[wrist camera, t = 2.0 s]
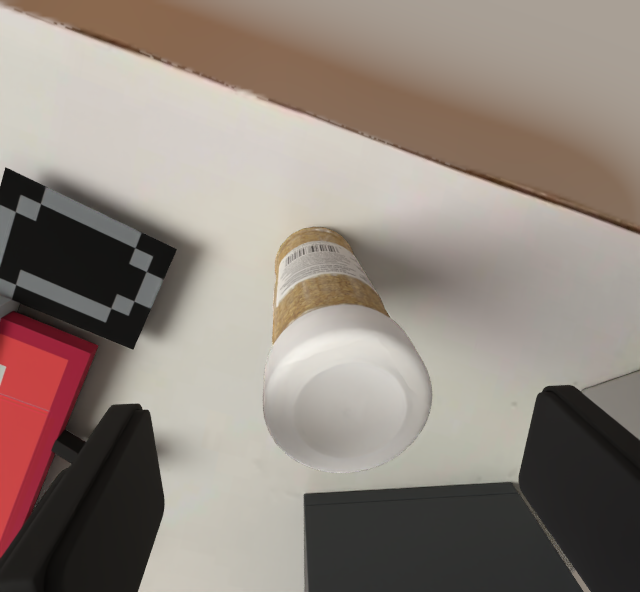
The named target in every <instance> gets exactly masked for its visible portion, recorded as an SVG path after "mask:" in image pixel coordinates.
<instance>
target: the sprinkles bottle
mask: <svg viewBox="0 0 640 592" xmlns="http://www.w3.org/2000/svg"><path fill="white" fill-rule="evenodd" d="M275 273H276V283H275V286H274V295H273V315H274V318H273V337H272V342H273V345H272V347H271V350H270V352H269V354H268V357H267V361H266V365H265V372H264V386H263V411H264V418H265V422H266V425H267V427H268V430H269V432H270V434H271V436H272V438H273V439H274V441H275V443H276V444H277V445H278V446H279V447H280V448H281V449H282V450H283V451H284V452H285V453H286V454H287V455H288V456H290V457H291V458H292V459H294V460H295V461H297V462H299V463H301V464H303V465H305V466H307V467H310V468H313V469H316V470H320V471H324V472H331V473H351V472H358V471H363V470H368V469H371V468H374V467H377V466H380V465H382V464H384V463H386V462H388V461H390V460H392V459H393V458H395V457H396V456H398V455H399V454H400V453H402V452H403V451H404V450H405V449H406V448H407V447H409V446H410V445H411V444H412V443H413V442H414V440H415V439H416V438H417V436H418V435H419V434H420V432H421V431H422V429H423V427H424V426H425V424H426V421H427V419H428V416H429V413H430V409H431V403H432V387H431V381H430V377H429V374H428V371H427V369H426V367H425V365H424V363H423V361H422V359H421V357H420V355H419V354H418V352H417V350H416V349H415V347H414V345H413V344H412V342H411V340H410V339H409V337H408V336H407V334H406V333H405V332H404V330H403V329H402V328H401V327H400V326H399V325H398V324H397V323H396V322H395V321H393V320H392V319H391V318H390V317H389V315H388V313H387V312H386V310H385V308H384V305H383V303H382V301H381V299H380V297H379V295H378V293H377V292H376V290H375V288H374V287H373V285H372V283H371V282H370V280H369V278H368V277H367V275H366V273H365V272H364V270H363V269H362V267H361V265H360V264H359V262H358V260H357V259H356V258H355V256H354V254H353V251H352V249H351V247H350V245H349V244H348V243H347V242H346V241H345V239H344V238H343V237H342V236H341V235H339V234H338V233H336V232H334V231H332V230H330V229H327V228H323V227H311V228H304V229H301V230H299V231H298V232H295V233H293V234H292V235H291V236H289V237H288V238H287V239H286V241H285V242H284V243H283V244H282V245H281V247H280V249H279V251H278V253H277V256H276V260H275Z"/></svg>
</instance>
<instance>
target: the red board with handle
mask: <svg viewBox="0 0 640 592" xmlns="http://www.w3.org/2000/svg"><path fill="white" fill-rule="evenodd" d="M176 250H177V249H175V248H173V247H171V246H169V245H167V244H165V243H163V242H161V241H159V240H156V239H154V238H152V237H150V236H148V235H146V234H144V233H142V232H140V231H138V230H135V229H133V228H131V227H129V226H127V225H125V224H123V223H121V222H119V221H117V220H115V219H112V218H110V217H108V216H106V215H104V214H102V213H100V212H98V211H96V210H94V209H92V208H89V207H87V206H85V205H83V204H81V203H79V202H77V201H75V200H73V199H71V198H69V197H66V196H64V195H62V194H60V193H58V192H56V191H54V190H52V189H50V188H48V187H45V186H43V185H41V184H39V183H37V182H35V181H33V180H31V179H29V178H27V177H25V176H22V175H20V174H18V173H16V172H14V171H12V170H10V169H8V168H6V167H5V171H4V175H3V178H2V182H1V186H0V558H1V557H2V555H3V554H4V552H5V551H6V550H7V548H8V547H9V545H10V544H11V542H12V541H13V539H14V538H15V537H16V535H17V534H18V532H19V531H20V529H21V528H22V526H23V525H24V524H25V522H26V521H27V519H28V518H29V516H30V515H31V513H32V510H33V508H34V505H35V503H36V500H37V498H38V495H39V493H40V490H41V488H42V485H43V483H44V480H45V478H46V475H47V473H48V470H49V468H50V465H51V463H52V460H53V458H54V455H55V454H57V455H58V456H60V457H62V458H63V459H65V460H66V461H68V462H70V463H71V464H72V462H73V461H74V459H75V458H76V456H77V455H78V453H79V452H80V450H81V449H82V448H83V446H84V445H85V443H86V442H85V441H83V440H82V439H80V438H78V437H77V436H75V435H73V434H72V433H70V432H69V431H67V430H65V428H66V425H67V423H68V421H69V418H70V416H71V413H72V411H73V408H74V406H75V403H76V401H77V398H78V396H79V393H80V391H81V388H82V386H83V383H84V381H85V378H86V376H87V373H88V371H89V368H90V366H91V363H92V361H93V358H94V356H95V353H96V351H97V348H98V346H99V345H96V344H94V343H91V342H89V341H86V340H84V339H81V338H79V337H76V336H74V335H71V334H69V333H67V332H64V331H62V330H59V329H57V328H54V327H52V326H49V325H47V324H44V323H42V322H39V321H37V320H34V319H32V318H30V317H27V316H25V315H22V314H20V313H17V311H18V308H19V304H20V303H21V304H23V305H26V306H28V307H30V308H33V309H35V310H38V311H40V312H43V313H45V314H47V315H50V316H52V317H55V318H57V319H60V320H62V321H64V322H67V323H69V324H72V325H74V326H77V327H79V328H82V329H84V330H86V331H89V332H91V333H94V334H96V335H99V336H101V337H103V338H106V339H108V340H111V341H113V342H116V343H118V344H121V345H123V346H125V347H128V348H130V349H134V347H135V344H136V342H137V340H138V338H139V335H140V333H141V331H142V328H143V326H144V324H145V321H146V319H147V317H148V315H149V312H150V310H151V308H152V305H153V303H154V301H155V298H156V296H157V294H158V292H159V289H160V287H161V285H162V282H163V280H164V278H165V276H166V273H167V271H168V269H169V266H170V264H171V262H172V259H173V257H174V255H175V253H176Z"/></svg>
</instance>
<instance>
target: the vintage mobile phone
mask: <svg viewBox="0 0 640 592" xmlns="http://www.w3.org/2000/svg"><path fill="white" fill-rule="evenodd" d="M582 393H583V394H584V395H585V396H587V397H588V398H589V399H590V400H592V401H593V402H594V403H595V404H596V405H598V406H599V407H600V408H601V409H603V410H604V411H605V412H606V413H607V414H609V415H610V416H611V417H612V418H613V419H615V420H616V421H617V422H618V423H620V424H621V425H622V426H623V427H624V428H626V429H627V430H628V431H629V432H631V433H632V434H633V435H634V436H635V437H637V438H638V439H639V440H640V370H639V371H636V372H633V373H631V374H628V375H625V376H622V377H619V378H616V379H613V380H610V381H607V382H604V383H602V384H599V385H596V386H593V387H590V388H587V389H584V390H582Z"/></svg>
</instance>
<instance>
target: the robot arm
mask: <svg viewBox="0 0 640 592" xmlns="http://www.w3.org/2000/svg"><path fill="white" fill-rule="evenodd" d="M519 485H520V488H521V491H522V493H523V494H524V496H525V497H526V499H527V500H528V502H529V503H530V504H531V506H532V507H533V509H534V510H535V512H536V513H537V515H538V516H539V518H540V519H541V520H542V522H543V523H544V525H545V526H546V528H547V529H548V531H549V532H550V533H551V535H552V536H553V538H554V539H555V541H556V542H557V544H558V545H559V546H560V548H561V549H562V551H563V552H564V554H565V555H566V557H567V558H568V559H569V561H570V562H571V564H572V565H573V567H574V568H575V570H576V571H577V572H578V574H579V575H580V577H581V578H582V580H583V581H584V582H585V584H586V585H587V587H588V588H589V590H590V591H591V592H640V440H639V439H638V438H637V437H635V436H634V435H633V434H632V433H631V432H629V431H628V430H627V429H626V428H624V427H623V426H622V425H621V424H620V423H618V422H617V421H616V420H615V419H613V418H612V417H611V416H610V415H609V414H607V413H606V412H605V411H604V410H603V409H601V408H600V407H599V406H598V405H596V404H595V403H594V402H593V401H592V400H590V399H589V398H588V397H587V396H585V395H584V394H583V393H582V392H581V391H579V390H578V389H577V388H575V387H574V386H571V385H561V386H547V387H545V388H544V389H543V391H542V392H541V393H539V394H538V395H537V398H536V402H535V407H534V411H533V415H532V420H531V424H530V429H529V433H528V438H527V442H526V446H525V451H524V455H523V460H522V464H521V469H520V473H519ZM163 512H164V493H163V487H162V481H161V475H160V469H159V463H158V457H157V451H156V445H155V439H154V433H153V427H152V421H151V415H150V412H149V410H142V407H141V405H140V404H118V405H112V406H111V407H110V408H109V409H108V410H107V412H106V413H105V415H104V416H103V418H102V419H101V421H100V422H99V424H98V425H97V427H96V428H95V430H94V431H93V433H92V434H91V436H90V437H89V439H88V440H87V442H86V443H85V445H84V446H83V448H82V449H81V450H80V452H79V453H78V455H77V456H76V458H75V459H74V461H73V462H72V464H71V465H70V467H69V468H67V469H65V470H63V471H62V472H61V473H60V474H59V475H58V476H57V477H56V479H55V480H54V482H53V483H52V485H51V486H50V487H49V489H48V490H47V492H46V493H45V495H44V496H43V498H42V499H41V500H40V502H39V503H38V505H37V506H36V508H35V509H34V511H33V512H32V513H31V515H30V516H29V518H28V519H27V521H26V522H25V524H24V525H23V526H22V528H21V529H20V531H19V532H18V534H17V535H16V537H15V538H14V539H13V541H12V542H11V544H10V545H9V547H8V548H7V550H6V551H5V552H4V554H3V555H2V557H1V558H0V592H138V590H139V586H140V583H141V580H142V577H143V574H144V571H145V568H146V565H147V562H148V559H149V556H150V553H151V550H152V547H153V544H154V541H155V538H156V535H157V532H158V529H159V526H160V523H161V520H162V517H163Z"/></svg>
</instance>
